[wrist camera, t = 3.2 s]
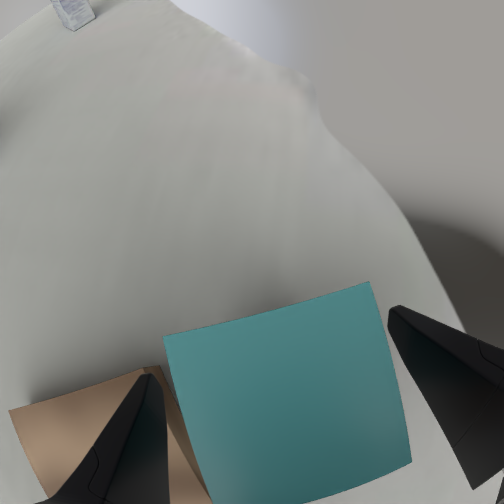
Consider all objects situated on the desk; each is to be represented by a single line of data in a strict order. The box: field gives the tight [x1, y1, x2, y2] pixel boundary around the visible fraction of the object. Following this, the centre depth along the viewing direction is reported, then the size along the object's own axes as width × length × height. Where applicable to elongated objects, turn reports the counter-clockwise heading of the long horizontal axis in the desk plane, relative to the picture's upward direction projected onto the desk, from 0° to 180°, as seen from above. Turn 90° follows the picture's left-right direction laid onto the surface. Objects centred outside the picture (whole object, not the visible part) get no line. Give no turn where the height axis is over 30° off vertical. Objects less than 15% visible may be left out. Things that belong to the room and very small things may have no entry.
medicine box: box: [51, 0, 95, 31], centre depth 27 cm, size 8×4×9 cm, turn 43°
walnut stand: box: [8, 366, 213, 504], centre depth 12 cm, size 14×12×2 cm
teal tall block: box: [163, 281, 412, 504], centre depth 11 cm, size 5×5×10 cm
